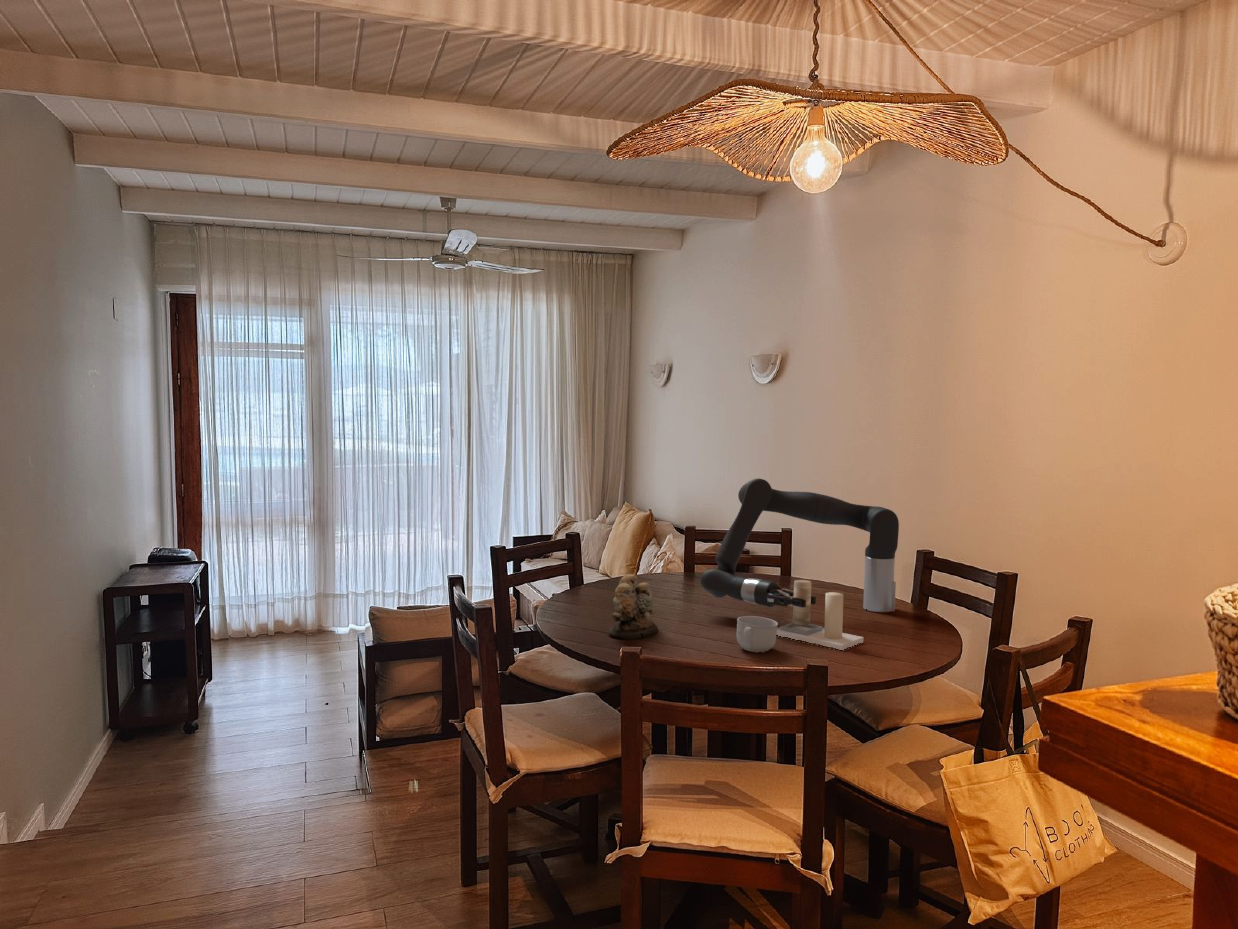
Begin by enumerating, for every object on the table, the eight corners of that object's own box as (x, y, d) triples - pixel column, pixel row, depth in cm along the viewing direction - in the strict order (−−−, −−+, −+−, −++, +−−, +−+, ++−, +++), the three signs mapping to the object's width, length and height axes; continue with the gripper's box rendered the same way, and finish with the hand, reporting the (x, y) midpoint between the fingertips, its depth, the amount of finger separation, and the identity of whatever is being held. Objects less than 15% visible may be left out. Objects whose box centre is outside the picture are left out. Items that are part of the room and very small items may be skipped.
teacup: (749, 641, 229) (750, 613, 229) (784, 649, 222) (785, 619, 222) (722, 652, 218) (722, 622, 218) (758, 660, 211) (759, 630, 211)
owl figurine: (632, 643, 226) (632, 582, 225) (597, 637, 232) (597, 577, 231) (666, 629, 240) (667, 571, 239) (633, 623, 247) (633, 567, 246)
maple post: (808, 621, 238) (809, 580, 238) (811, 625, 234) (812, 583, 233) (791, 620, 239) (793, 579, 238) (793, 625, 234) (795, 583, 233)
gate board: (771, 634, 236) (773, 588, 235) (794, 627, 245) (795, 582, 244) (841, 651, 221) (843, 601, 220) (863, 642, 230) (864, 594, 229)
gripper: (746, 583, 240) (797, 592, 228) (774, 576, 251) (824, 585, 239) (745, 608, 241) (796, 619, 229) (773, 601, 251) (823, 611, 239)
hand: (810, 602), depth 234 cm, fingers closed on maple post, 4 cm apart
